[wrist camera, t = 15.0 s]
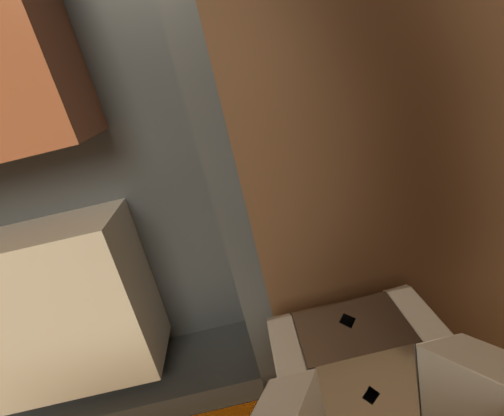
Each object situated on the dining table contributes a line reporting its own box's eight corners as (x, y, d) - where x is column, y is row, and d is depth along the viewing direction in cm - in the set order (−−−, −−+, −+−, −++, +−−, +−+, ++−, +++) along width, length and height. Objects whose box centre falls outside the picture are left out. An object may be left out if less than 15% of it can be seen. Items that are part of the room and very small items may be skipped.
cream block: (-94, 274, 9) (-32, 233, 12) (-4, 417, 11) (35, 356, 14) (101, 230, 9) (125, 197, 12) (160, 380, 11) (171, 325, 14)
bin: (157, -172, 9) (122, -304, 6) (275, 317, 15) (292, 391, 11) (-332, -53, 9) (-640, -118, 6) (-36, 391, 15) (-111, 486, 11)
